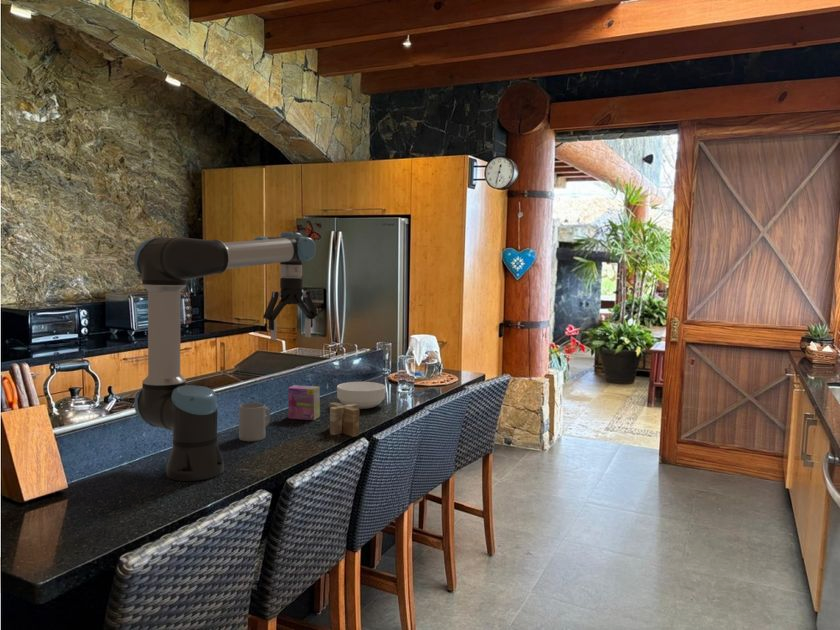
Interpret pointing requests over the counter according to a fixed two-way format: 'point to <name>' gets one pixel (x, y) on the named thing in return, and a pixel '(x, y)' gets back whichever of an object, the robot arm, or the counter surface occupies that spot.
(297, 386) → the box
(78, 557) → the counter surface
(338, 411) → the notched wooden horseshoe piece
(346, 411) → the notched wooden block
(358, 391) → the bowl
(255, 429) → the mug
